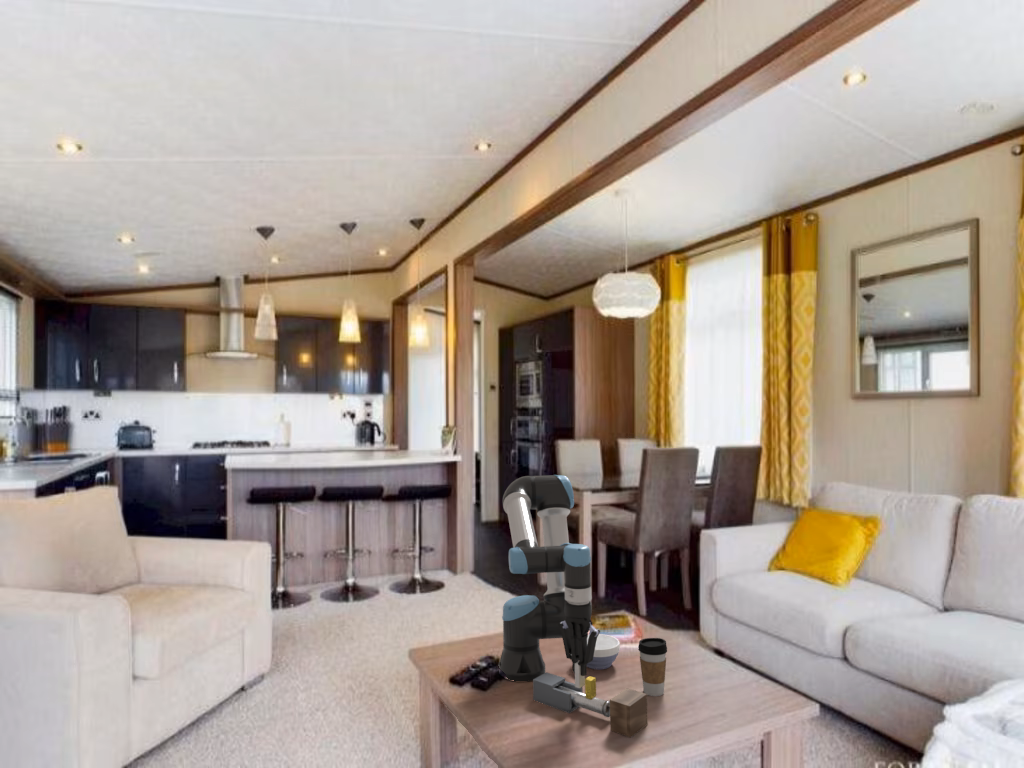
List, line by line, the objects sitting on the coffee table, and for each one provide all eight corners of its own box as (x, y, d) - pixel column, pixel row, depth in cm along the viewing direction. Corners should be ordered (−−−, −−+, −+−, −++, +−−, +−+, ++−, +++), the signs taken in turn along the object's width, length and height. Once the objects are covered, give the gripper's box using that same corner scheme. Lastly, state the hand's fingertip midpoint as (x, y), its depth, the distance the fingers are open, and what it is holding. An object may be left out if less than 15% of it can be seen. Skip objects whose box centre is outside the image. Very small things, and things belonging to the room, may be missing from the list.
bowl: (629, 664, 217) (628, 640, 217) (602, 677, 206) (601, 653, 207) (594, 652, 227) (593, 630, 227) (566, 665, 217) (566, 642, 217)
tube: (540, 697, 192) (540, 666, 192) (549, 692, 195) (548, 662, 195) (605, 719, 177) (604, 686, 178) (613, 714, 180) (612, 681, 181)
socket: (610, 730, 173) (609, 699, 174) (627, 717, 180) (627, 687, 181) (630, 737, 170) (629, 706, 170) (647, 724, 176) (646, 693, 177)
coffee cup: (668, 699, 191) (667, 647, 191) (639, 697, 192) (637, 645, 193) (667, 686, 199) (666, 636, 199) (639, 684, 201) (638, 635, 201)
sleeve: (533, 700, 192) (533, 679, 192) (547, 692, 197) (546, 672, 197) (569, 713, 183) (569, 691, 184) (582, 704, 188) (582, 683, 189)
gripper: (551, 600, 187) (553, 684, 186) (589, 608, 179) (592, 697, 178) (567, 594, 193) (569, 675, 192) (605, 602, 184) (607, 687, 183)
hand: (580, 685), depth 185 cm, fingers closed
